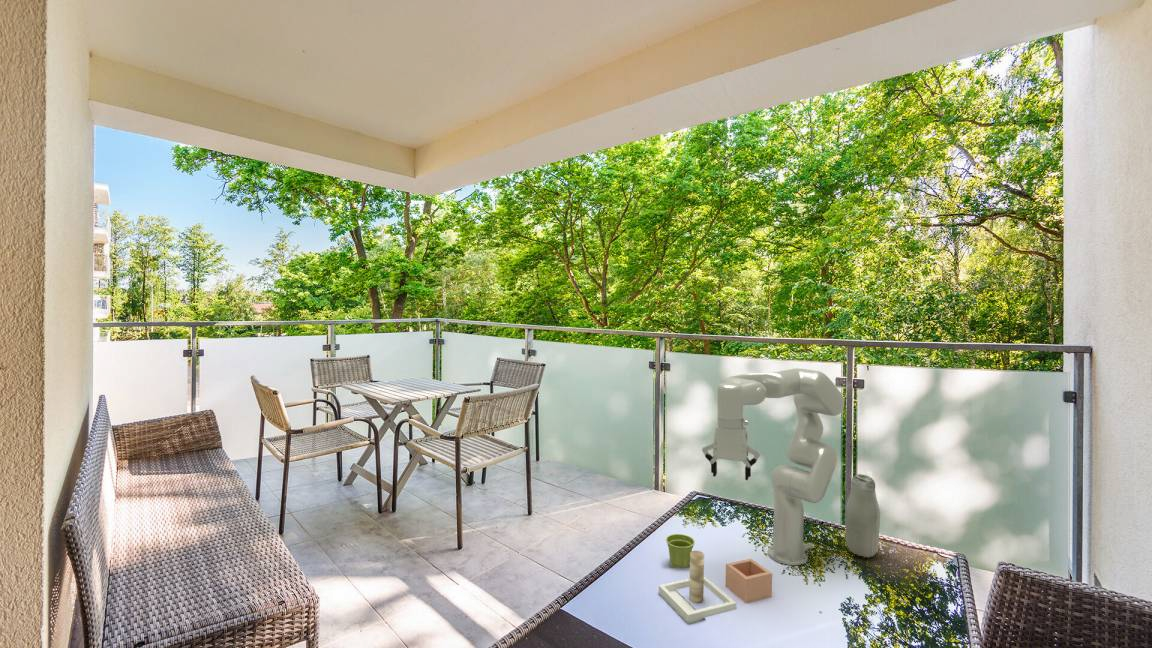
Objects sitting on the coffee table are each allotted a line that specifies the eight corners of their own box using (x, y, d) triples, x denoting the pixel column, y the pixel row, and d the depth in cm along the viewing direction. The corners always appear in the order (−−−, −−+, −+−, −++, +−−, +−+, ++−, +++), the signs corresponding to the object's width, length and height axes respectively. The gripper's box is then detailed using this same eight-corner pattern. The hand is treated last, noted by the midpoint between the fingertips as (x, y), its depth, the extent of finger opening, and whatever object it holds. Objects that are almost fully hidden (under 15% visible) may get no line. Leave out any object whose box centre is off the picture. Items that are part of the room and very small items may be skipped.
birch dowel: (698, 595, 158) (699, 549, 158) (706, 602, 155) (707, 555, 154) (686, 598, 157) (687, 551, 156) (694, 605, 153) (695, 558, 153)
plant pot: (694, 574, 172) (695, 548, 171) (665, 571, 173) (665, 545, 173) (694, 560, 181) (694, 535, 180) (666, 557, 183) (666, 532, 182)
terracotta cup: (750, 583, 166) (751, 558, 166) (771, 599, 157) (772, 573, 157) (725, 589, 163) (725, 563, 162) (745, 606, 154) (746, 579, 154)
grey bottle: (883, 556, 184) (886, 476, 182) (867, 564, 178) (870, 482, 176) (854, 545, 192) (857, 469, 190) (839, 553, 186) (841, 474, 184)
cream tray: (703, 583, 166) (703, 575, 166) (736, 611, 151) (736, 603, 151) (658, 593, 160) (658, 585, 160) (688, 624, 146) (688, 615, 145)
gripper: (760, 422, 164) (761, 476, 165) (704, 417, 171) (704, 469, 172) (758, 428, 157) (759, 484, 159) (699, 423, 164) (700, 477, 165)
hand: (730, 476), depth 165 cm, fingers open, 9 cm apart
